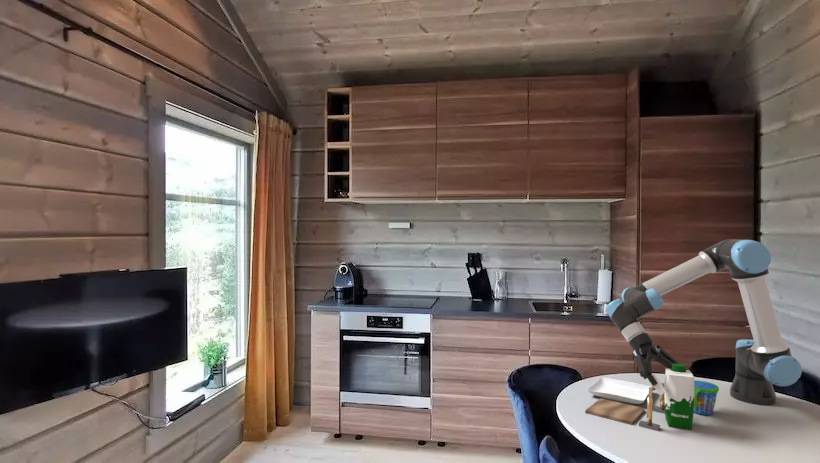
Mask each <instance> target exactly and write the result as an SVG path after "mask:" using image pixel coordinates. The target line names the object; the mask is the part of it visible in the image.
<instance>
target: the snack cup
mask: <svg viewBox="0 0 820 463" xmlns="http://www.w3.org/2000/svg"><path fill="white" fill-rule="evenodd" d="M719 390H720V388H719V386H718V385H717V384H715V383H712V382H708V381H704V380H695V379H694V413H695V414H697V415H702V416H710V415H712V414H714V410H715V405H716V400H717V394H718V393H719Z"/></svg>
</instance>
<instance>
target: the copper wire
mask: <svg viewBox="0 0 820 463" xmlns="http://www.w3.org/2000/svg"><path fill="white" fill-rule="evenodd" d="M661 384H662V385H663V387H664V388H665V382H661ZM654 391H657V390H656V389H655V388H654V386H653V385H652V387H650V388H649V394H648V396H647V398H646V400H647V401H646V402H647V403H646V404H647V405H646V421H645V420H640V421H639V422H638V427H641V428H646V429H650V430H653V431H656V432H657V431H658V432H659V430H660V428H661V425H660V424H657V423H653V412H656V413H661V414H665V410H664V394H662V395H659V406H658V405H653V400H654V399H653V392H654Z"/></svg>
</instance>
